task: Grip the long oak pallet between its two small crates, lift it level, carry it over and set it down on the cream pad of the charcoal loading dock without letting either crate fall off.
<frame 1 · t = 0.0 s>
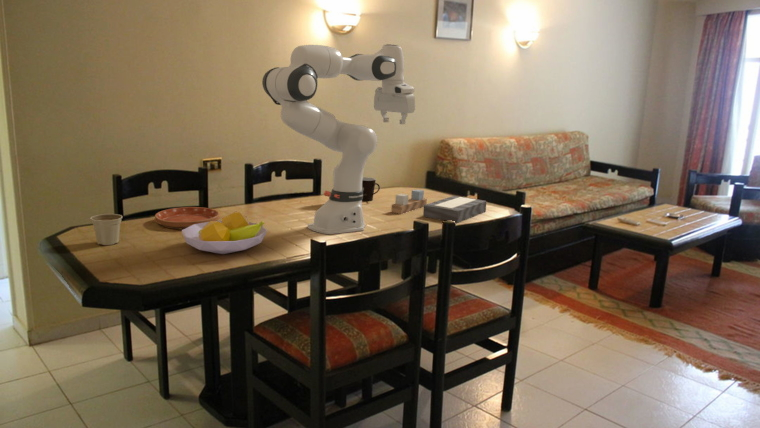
hand: (394, 123, 225), 39 cm above the table, tool pointing down, fingers open, 8 cm apart
fruit bowl: (227, 249, 184), on the table
flower pot: (108, 243, 184), on the table
pallet: (409, 210, 252), on the table, touching crate a
loading dock: (455, 214, 245), on the table
saucer: (188, 223, 213), on the table
crate a: (417, 199, 256), point 3 cm above the table, touching pallet
coffee mug: (367, 200, 266), on the table
crate b: (401, 204, 245), point 3 cm above the table
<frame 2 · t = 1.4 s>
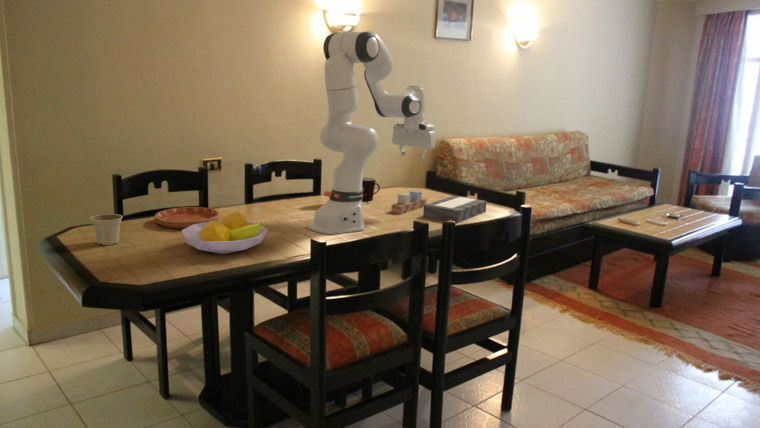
hand: (412, 156, 246), 23 cm above the table, tool pointing down, fingers open, 8 cm apart
crate a: (415, 200, 255), point 3 cm above the table, touching pallet
crate b: (403, 203, 247), point 3 cm above the table
everything else where it was.
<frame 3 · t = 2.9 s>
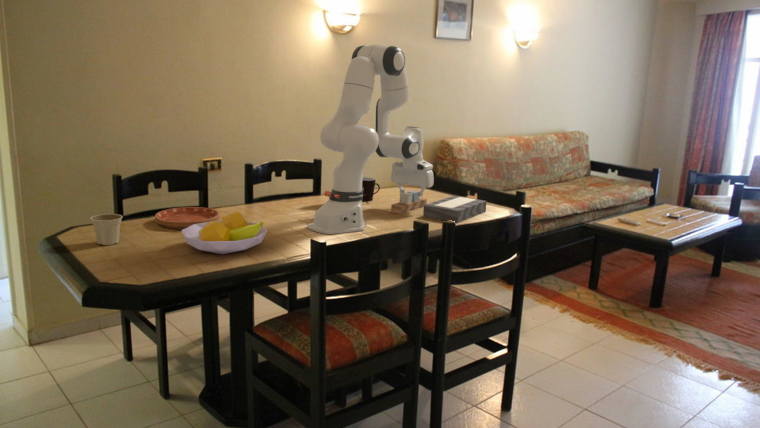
hand: (411, 194, 250), 6 cm above the table, tool pointing down, fingers open, 8 cm apart
pallet: (409, 210, 252), on the table, touching crate b
crate a: (412, 200, 253), point 3 cm above the table
crate b: (405, 202, 249), point 3 cm above the table, touching pallet
everything else where it was.
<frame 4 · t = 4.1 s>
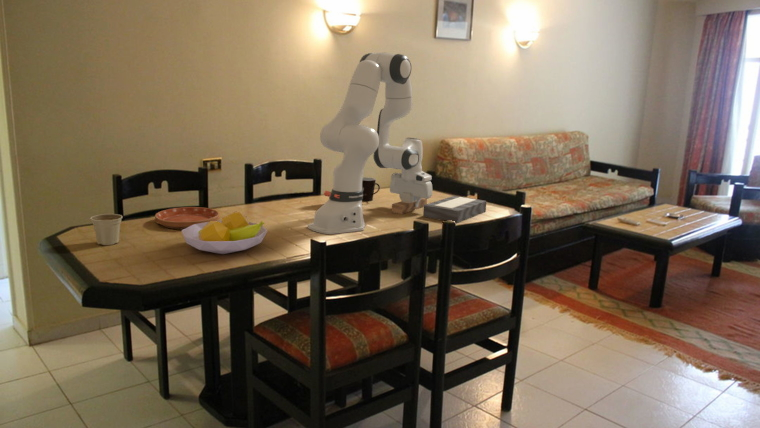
hand: (409, 205, 251), 2 cm above the table, tool pointing down, fingers closed on pallet, 5 cm apart
pallet: (409, 209, 252), on the table, touching crate a, crate b, gripper
crate a: (411, 200, 253), point 4 cm above the table, touching pallet
crate b: (407, 201, 249), point 4 cm above the table, touching pallet
everything else where it was.
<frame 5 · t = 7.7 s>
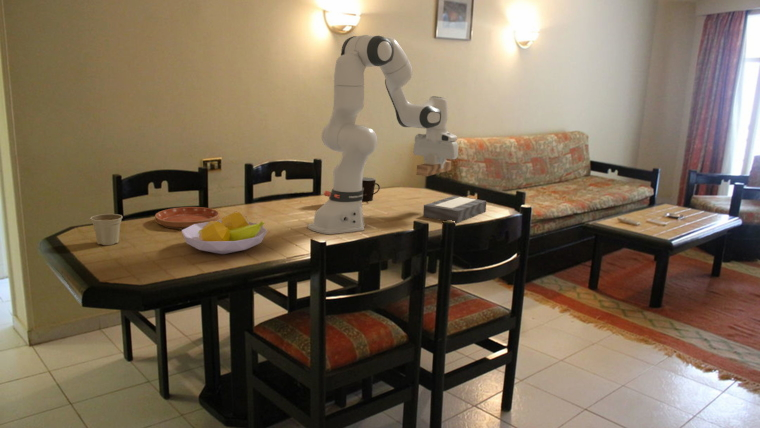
hand: (434, 167, 244), 19 cm above the table, tool pointing down, fingers closed on pallet, 5 cm apart
pallet: (434, 172, 245), point 17 cm above the table, touching crate a, crate b, gripper
crate a: (436, 162, 246), point 21 cm above the table, touching pallet
crate b: (432, 163, 242), point 21 cm above the table, touching pallet
everything else where it was.
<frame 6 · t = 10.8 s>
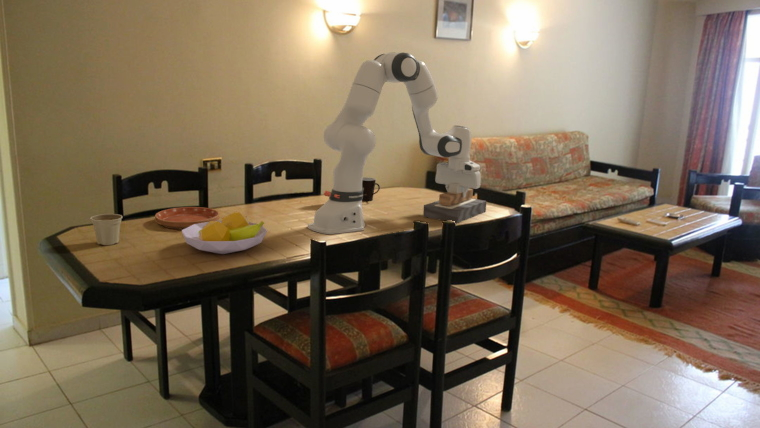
hand: (456, 196, 243), 8 cm above the table, tool pointing down, fingers closed on pallet, 5 cm apart
pallet: (456, 200, 244), point 6 cm above the table, touching crate a, crate b, gripper
crate a: (458, 191, 245), point 10 cm above the table, touching pallet
crate b: (454, 192, 242), point 10 cm above the table, touching pallet
everything else where it was.
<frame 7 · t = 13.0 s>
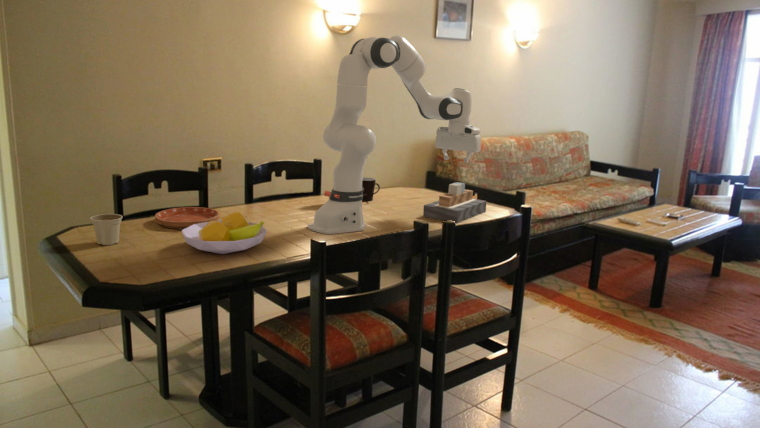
hand: (456, 161, 240), 23 cm above the table, tool pointing down, fingers open, 8 cm apart
pallet: (456, 202, 244), point 5 cm above the table, touching crate a, crate b, loading dock
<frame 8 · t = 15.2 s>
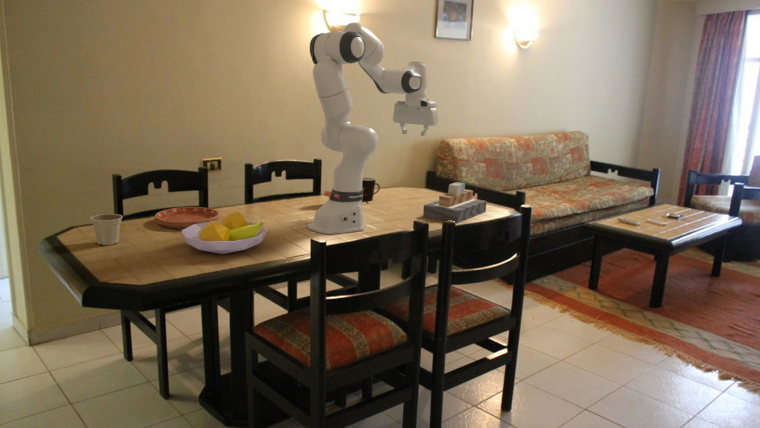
hand: (413, 134, 241), 33 cm above the table, tool pointing down, fingers open, 8 cm apart
nothing on the table moved.
at the end: pallet inside the target area on the loading dock (0.1 cm from its centre), point 5.3 cm above the loading dock's base; crate a point 9.3 cm above the table; crate b point 9.3 cm above the table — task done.
